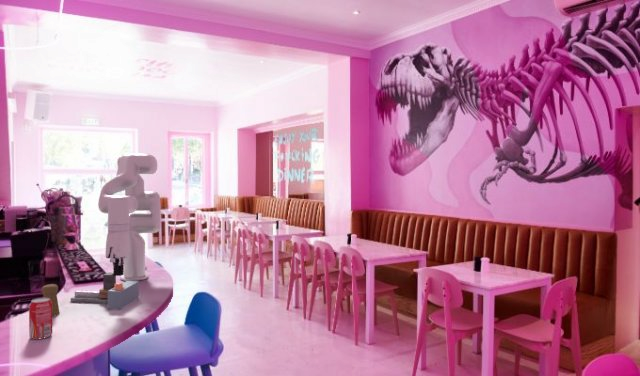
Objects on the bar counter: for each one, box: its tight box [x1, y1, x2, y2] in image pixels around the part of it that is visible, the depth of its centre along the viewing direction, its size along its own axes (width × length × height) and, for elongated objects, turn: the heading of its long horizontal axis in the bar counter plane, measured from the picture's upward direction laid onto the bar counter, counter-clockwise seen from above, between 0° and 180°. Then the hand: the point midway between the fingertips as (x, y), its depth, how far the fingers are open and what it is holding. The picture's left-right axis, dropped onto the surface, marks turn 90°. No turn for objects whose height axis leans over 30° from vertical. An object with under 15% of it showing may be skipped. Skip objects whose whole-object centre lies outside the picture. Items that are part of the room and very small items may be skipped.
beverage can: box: [28, 297, 53, 340], centre depth 140 cm, size 6×6×12 cm
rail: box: [70, 290, 108, 304], centre depth 179 cm, size 6×19×4 cm, turn 86°
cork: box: [41, 283, 60, 318], centre depth 161 cm, size 6×6×11 cm
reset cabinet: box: [107, 280, 140, 310], centre depth 176 cm, size 15×5×7 cm, turn 176°
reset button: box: [114, 282, 124, 290], centre depth 172 cm, size 3×3×6 cm
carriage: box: [98, 272, 117, 298], centre depth 178 cm, size 4×6×9 cm
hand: (118, 275), depth 171 cm, fingers closed
